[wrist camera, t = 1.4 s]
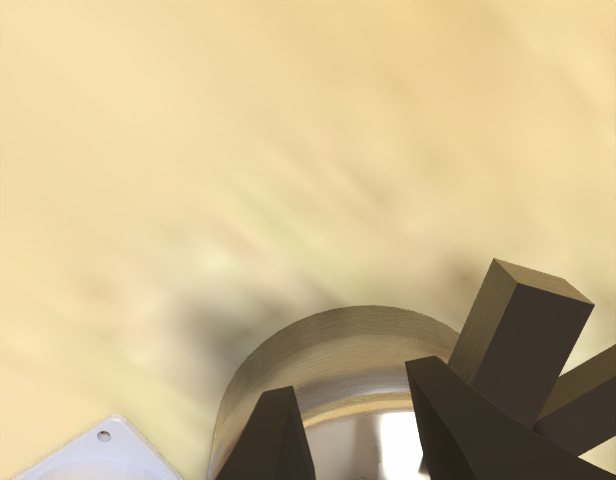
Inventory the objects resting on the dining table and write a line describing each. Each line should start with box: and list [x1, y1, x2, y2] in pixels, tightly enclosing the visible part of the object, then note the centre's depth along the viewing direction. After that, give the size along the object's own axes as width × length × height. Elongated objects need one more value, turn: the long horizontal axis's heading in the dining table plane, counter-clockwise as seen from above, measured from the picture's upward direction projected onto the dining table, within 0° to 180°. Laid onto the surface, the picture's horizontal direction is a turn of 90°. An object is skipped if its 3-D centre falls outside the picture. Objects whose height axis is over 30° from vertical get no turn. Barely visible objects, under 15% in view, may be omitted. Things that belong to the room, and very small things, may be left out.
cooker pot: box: [207, 305, 616, 480], centre depth 21 cm, size 16×12×6 cm
